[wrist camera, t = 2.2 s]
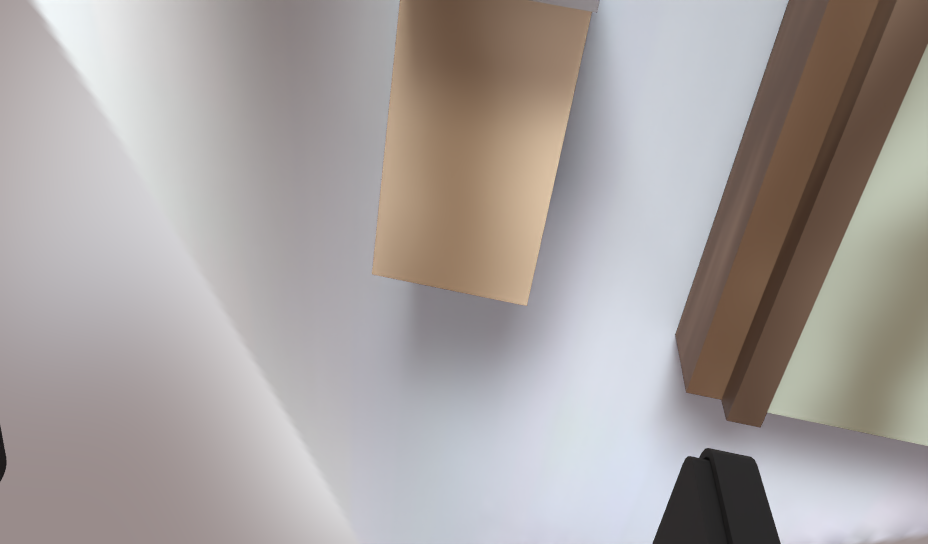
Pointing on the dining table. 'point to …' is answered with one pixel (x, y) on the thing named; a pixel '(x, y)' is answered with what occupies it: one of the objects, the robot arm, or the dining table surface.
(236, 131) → the dining table surface
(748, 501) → the robot arm
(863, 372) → the dock
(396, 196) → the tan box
